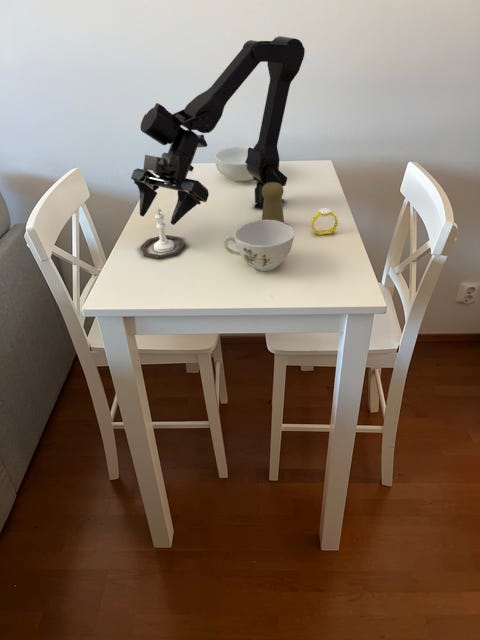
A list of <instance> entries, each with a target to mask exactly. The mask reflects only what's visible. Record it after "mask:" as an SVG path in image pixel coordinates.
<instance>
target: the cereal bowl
mask: <svg viewBox="0 0 480 640" xmlns="http://www.w3.org/2000/svg"><path fill="white" fill-rule="evenodd" d="M249 147H251V148H254V147H255V146H252V145H238V146H229V147H226V148H222V149H220V150H218V151H217V152H216V153H215V155H214V163H215V167H216V169H217V171H218V172H219V173H220V174H221V175H222V176H224V177H226V178H228V179H231V180H232V181H235V182H239V183H240V182H250V181H252V180H253V181H254V179H253V176H252V175H251V174H250V173H249V172H248V170H247V164H246V163H245V161H246V159H247V156H248V148H249Z"/></svg>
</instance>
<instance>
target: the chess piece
mask: <svg viewBox="0 0 480 640" xmlns="http://www.w3.org/2000/svg"><path fill="white" fill-rule="evenodd" d="M155 209H156V210H155V211H154V213H155V215H154V219H155V221H156V222H157V224H156V225H155V227H156V228H157V229H158V232H159V234H158V237H159V241H155V242H154V244H153V250H154V251H156V252H158V253H168V252H170V251H172V250H173V249H174V248H175V246H176V245H175V243H174V242H175V241H174V240H168V239H166V233H165V229H164V228H165V227H166V224H165V223H164V214H162V213H161V212H162V208H160V207H159V206H158V207H156V208H155Z"/></svg>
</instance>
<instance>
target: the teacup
mask: <svg viewBox="0 0 480 640" xmlns="http://www.w3.org/2000/svg"><path fill="white" fill-rule="evenodd" d="M294 239H295V230H294V229H293V228H292V226H290V225H288V224H287V223H285V222H284V223H282V222H279V221H275V220H262V219H260V220H252V221H249V222H246V223H244V224H241V225H240V227H239V228H236V230H235V231H234V236H233V235H227V236H226V237H225V238H224V240H223V245H224V249H225V250H226V251H227V252H228V253H230V254H231V255H235V256H239V257H241V258H242V259H243V260H244V261H245V262H246V263H247V264H248V265H249V266H251V268H253V269H255V270H257V271H261V272H269V271H273V270H275V269H276V268H277V267H278V266H280V264H282V263H283V262H284V260H285V259H286V258H287V257H288V255H289V253H290V251H291V249H292V246H293V242H294ZM230 241H231V242H233V243H234V244H235V245H236V248H237V251H236V250H233V249H231V248H230V247H229V246H228V243H229V242H230Z"/></svg>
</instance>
